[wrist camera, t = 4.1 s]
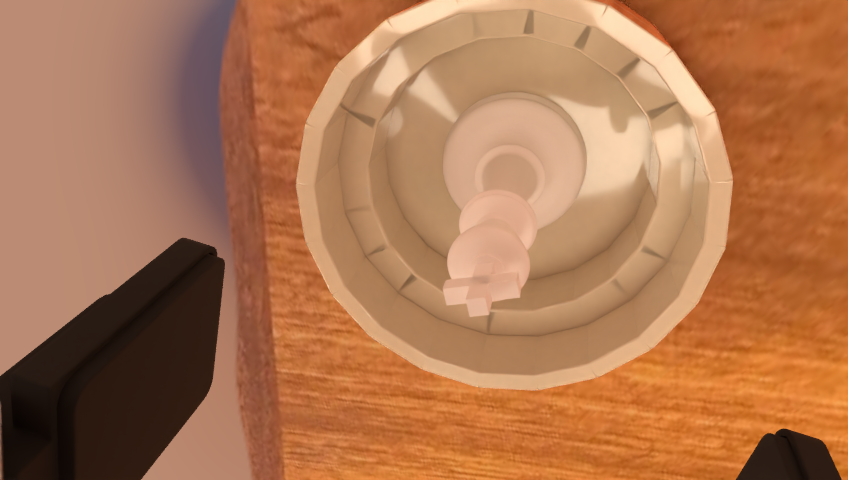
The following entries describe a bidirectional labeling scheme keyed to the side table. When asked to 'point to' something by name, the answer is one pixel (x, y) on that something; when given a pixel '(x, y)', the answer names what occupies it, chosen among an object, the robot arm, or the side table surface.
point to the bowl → (554, 244)
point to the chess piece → (506, 191)
